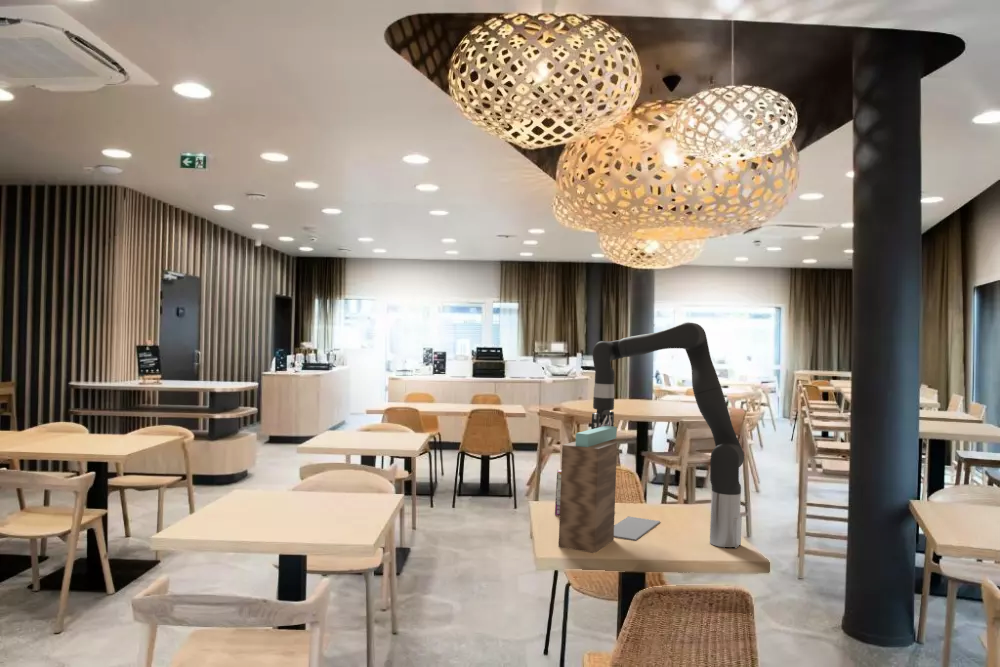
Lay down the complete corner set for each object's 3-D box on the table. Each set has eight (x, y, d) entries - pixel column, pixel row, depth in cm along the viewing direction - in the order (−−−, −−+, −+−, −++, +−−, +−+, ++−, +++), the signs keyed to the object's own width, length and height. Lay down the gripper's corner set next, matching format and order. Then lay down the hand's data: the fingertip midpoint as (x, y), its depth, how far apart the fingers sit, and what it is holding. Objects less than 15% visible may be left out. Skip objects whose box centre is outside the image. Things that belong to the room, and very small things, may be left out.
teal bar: (616, 438, 251) (616, 426, 251) (587, 447, 226) (587, 434, 226) (605, 437, 253) (605, 425, 253) (575, 445, 228) (575, 433, 228)
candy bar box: (554, 515, 270) (556, 471, 270) (555, 512, 275) (556, 469, 275) (585, 517, 269) (586, 473, 269) (584, 514, 274) (586, 470, 274)
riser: (613, 539, 239) (617, 442, 239) (594, 552, 223) (598, 448, 223) (579, 534, 244) (583, 439, 245) (558, 546, 228) (562, 444, 229)
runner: (660, 522, 265) (660, 521, 265) (635, 540, 239) (635, 539, 239) (628, 517, 271) (628, 516, 271) (601, 535, 244) (601, 533, 244)
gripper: (605, 397, 255) (603, 443, 255) (621, 396, 267) (619, 440, 267) (585, 396, 259) (584, 441, 259) (602, 394, 271) (601, 438, 271)
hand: (602, 440), depth 263 cm, fingers open, 8 cm apart
